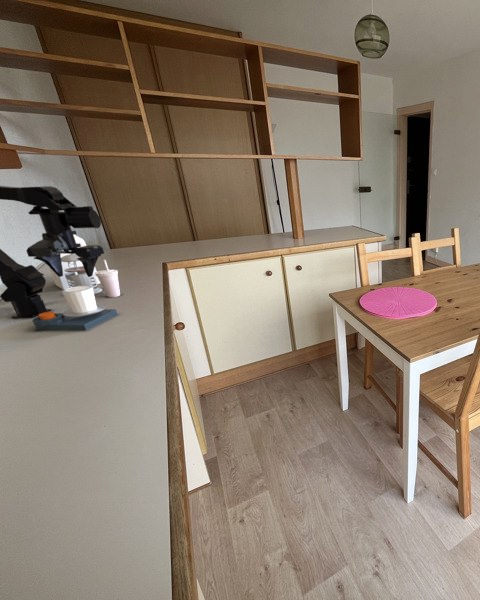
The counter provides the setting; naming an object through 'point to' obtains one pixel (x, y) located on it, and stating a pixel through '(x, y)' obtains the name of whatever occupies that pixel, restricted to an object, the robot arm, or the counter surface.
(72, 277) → the french press
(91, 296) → the white short tapered cylinder
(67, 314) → the weighing pan
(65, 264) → the milk
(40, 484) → the counter surface
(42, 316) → the tare button
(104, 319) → the scale
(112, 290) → the smoothie
